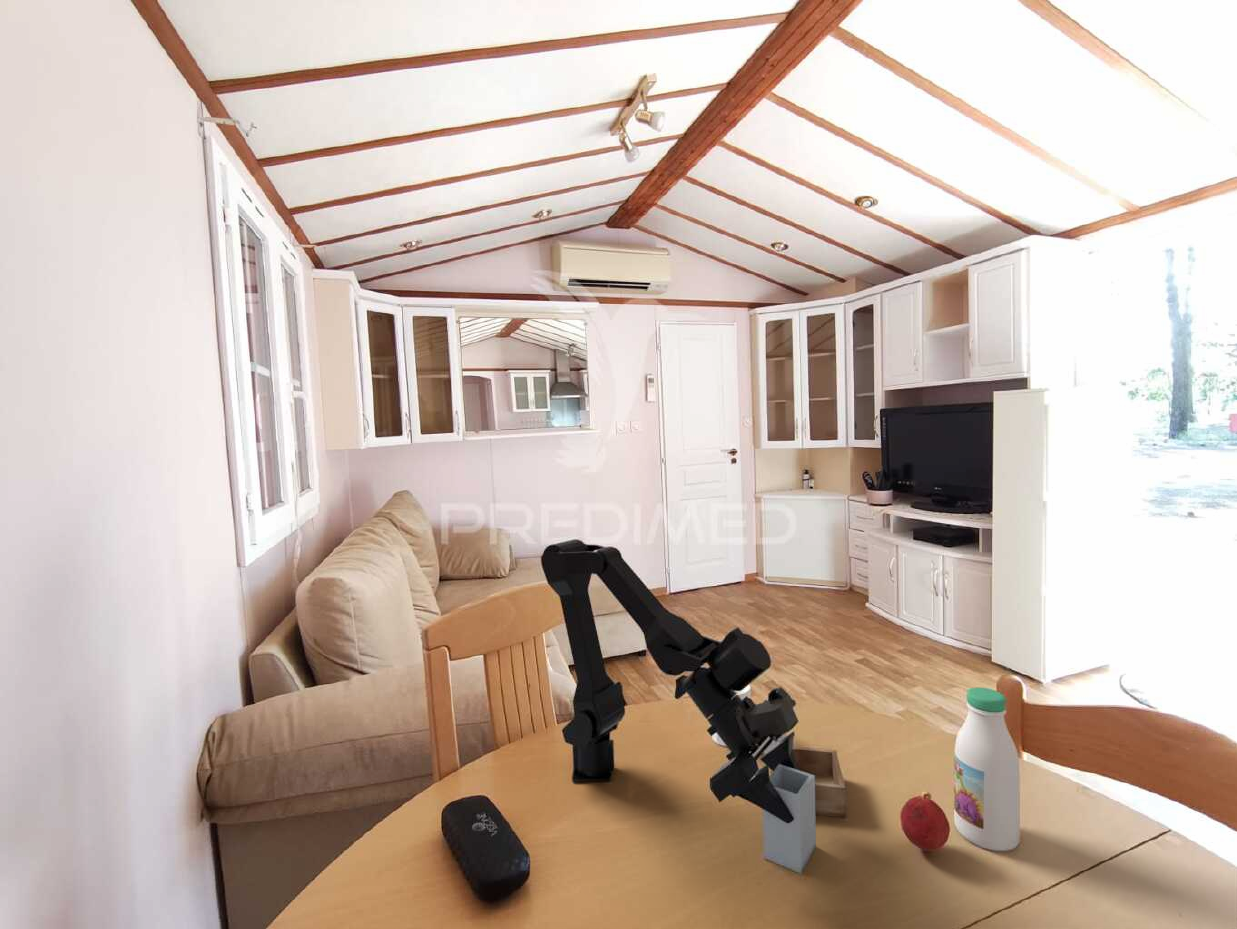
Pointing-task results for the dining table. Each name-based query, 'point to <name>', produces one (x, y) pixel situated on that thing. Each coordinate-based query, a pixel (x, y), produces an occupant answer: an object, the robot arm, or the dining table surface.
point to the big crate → (824, 779)
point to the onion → (924, 822)
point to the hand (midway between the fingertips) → (799, 808)
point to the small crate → (799, 836)
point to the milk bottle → (987, 775)
